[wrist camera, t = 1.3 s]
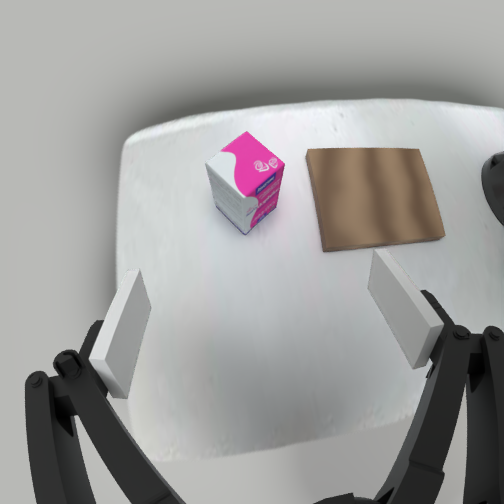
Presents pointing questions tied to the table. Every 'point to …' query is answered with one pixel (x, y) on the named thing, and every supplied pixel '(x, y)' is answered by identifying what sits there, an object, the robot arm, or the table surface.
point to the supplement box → (245, 181)
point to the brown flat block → (372, 197)
